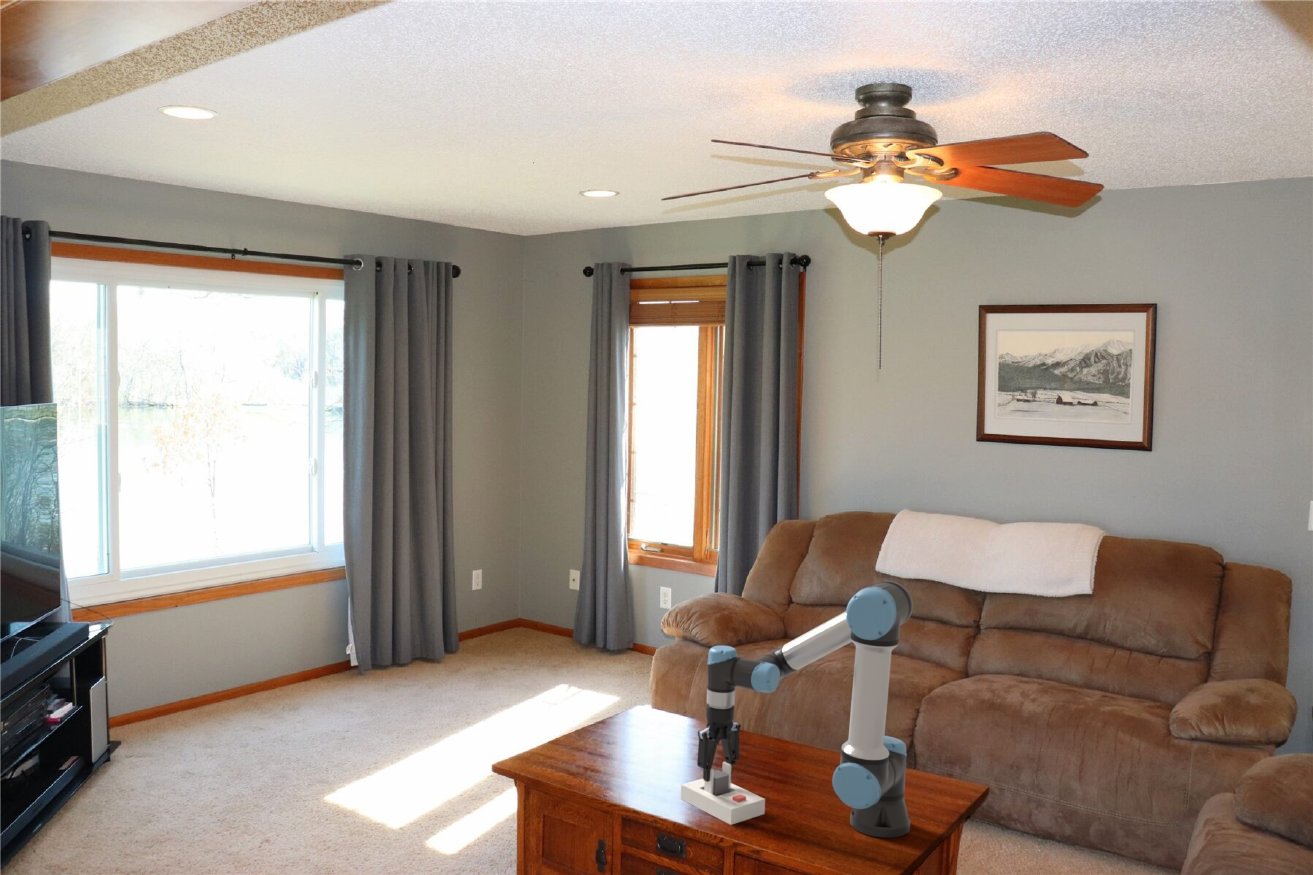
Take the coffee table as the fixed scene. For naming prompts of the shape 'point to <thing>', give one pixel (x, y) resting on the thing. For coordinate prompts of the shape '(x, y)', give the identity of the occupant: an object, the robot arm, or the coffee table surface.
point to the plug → (720, 783)
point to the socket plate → (724, 802)
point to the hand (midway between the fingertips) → (717, 789)
